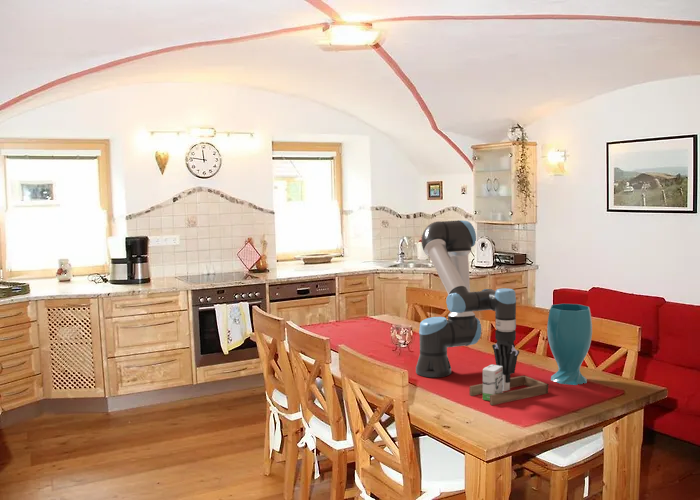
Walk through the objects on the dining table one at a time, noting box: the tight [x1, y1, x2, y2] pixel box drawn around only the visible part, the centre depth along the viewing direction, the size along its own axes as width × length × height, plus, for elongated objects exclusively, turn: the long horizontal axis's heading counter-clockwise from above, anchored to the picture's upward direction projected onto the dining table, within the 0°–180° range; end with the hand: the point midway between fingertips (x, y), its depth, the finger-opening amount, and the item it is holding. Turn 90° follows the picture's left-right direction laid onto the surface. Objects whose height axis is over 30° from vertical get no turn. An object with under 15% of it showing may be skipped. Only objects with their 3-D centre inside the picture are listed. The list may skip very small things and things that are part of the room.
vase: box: [546, 303, 593, 386], centre depth 269 cm, size 17×17×30 cm
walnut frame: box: [469, 375, 549, 406], centre depth 254 cm, size 13×27×4 cm, turn 117°
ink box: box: [482, 364, 504, 402], centre depth 250 cm, size 9×5×12 cm, turn 145°
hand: (505, 389), depth 253 cm, fingers closed
